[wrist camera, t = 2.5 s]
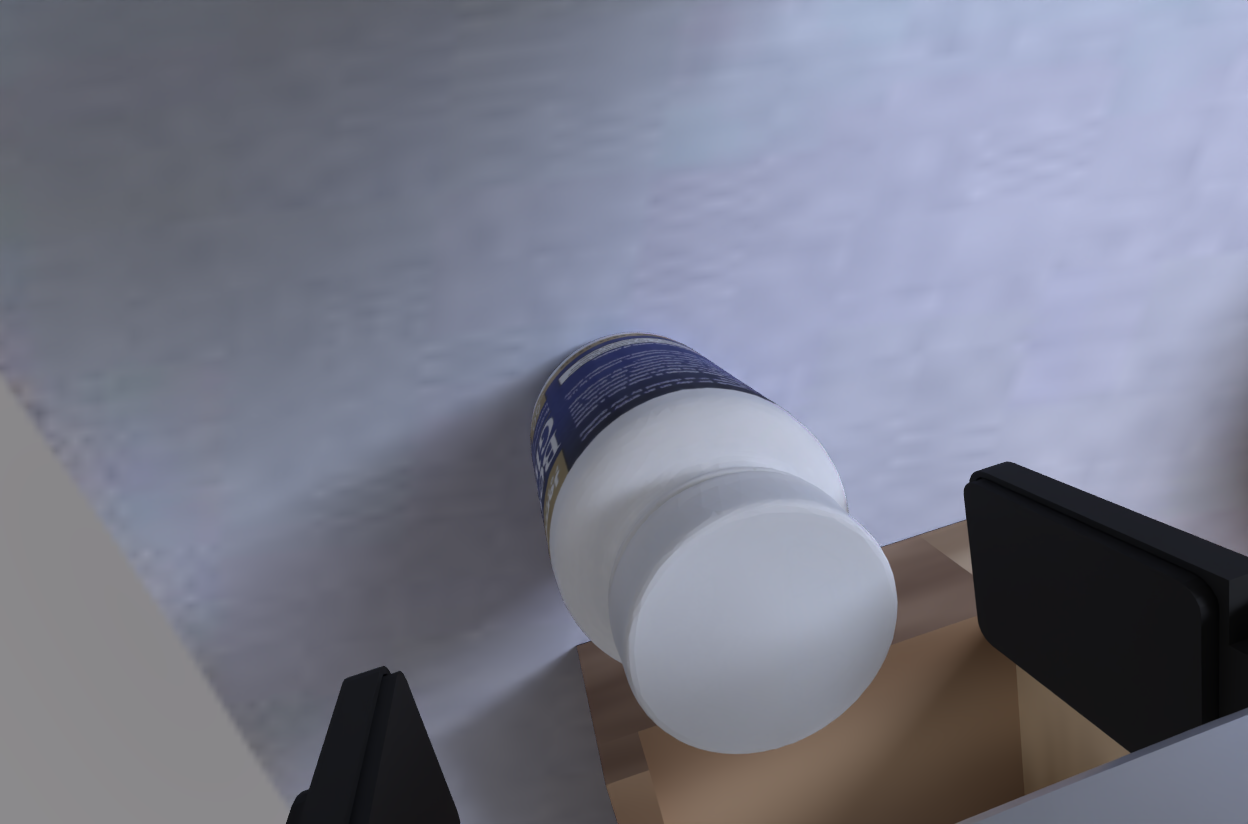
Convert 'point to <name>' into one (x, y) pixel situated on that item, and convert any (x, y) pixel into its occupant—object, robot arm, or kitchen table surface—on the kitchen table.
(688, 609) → the pill bottle
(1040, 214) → the kitchen table surface
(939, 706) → the cardboard holder
